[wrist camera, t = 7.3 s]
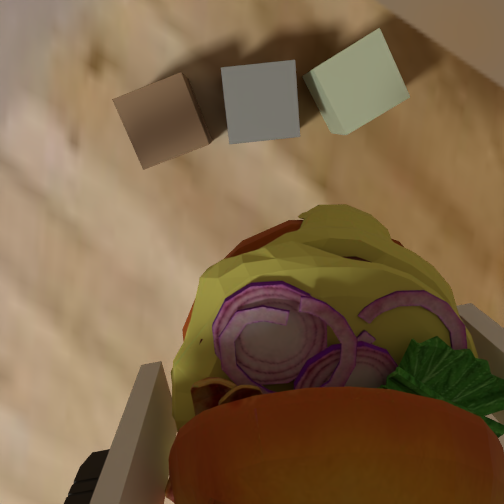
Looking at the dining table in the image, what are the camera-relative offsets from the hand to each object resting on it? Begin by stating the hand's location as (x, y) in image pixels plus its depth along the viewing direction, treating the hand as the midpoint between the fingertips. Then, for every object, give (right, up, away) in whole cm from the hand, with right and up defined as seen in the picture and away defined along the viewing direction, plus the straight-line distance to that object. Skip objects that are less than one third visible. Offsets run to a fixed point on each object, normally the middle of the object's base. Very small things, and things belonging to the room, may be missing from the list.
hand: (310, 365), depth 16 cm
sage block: (+5, +17, +18) cm, 25 cm away
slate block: (-2, +16, +18) cm, 24 cm away
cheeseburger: (0, +1, +1) cm, 1 cm away
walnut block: (-9, +15, +18) cm, 25 cm away
